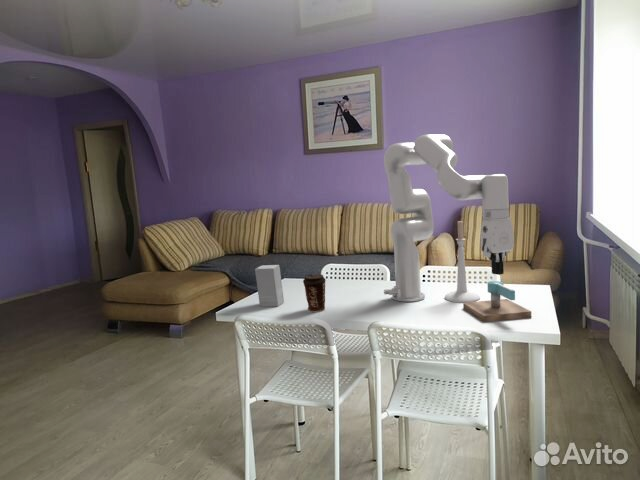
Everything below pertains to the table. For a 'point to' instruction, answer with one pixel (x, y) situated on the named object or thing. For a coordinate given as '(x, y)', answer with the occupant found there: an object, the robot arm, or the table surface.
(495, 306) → the post block
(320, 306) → the coffee cup
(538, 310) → the table surface
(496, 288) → the teal lever handle
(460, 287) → the candlestick
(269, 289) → the skincare box
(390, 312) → the table surface
